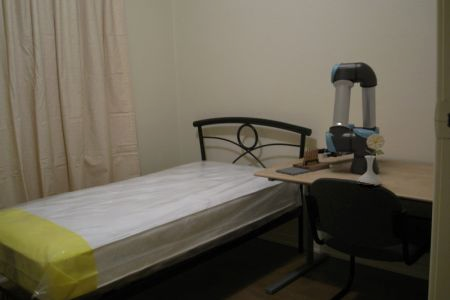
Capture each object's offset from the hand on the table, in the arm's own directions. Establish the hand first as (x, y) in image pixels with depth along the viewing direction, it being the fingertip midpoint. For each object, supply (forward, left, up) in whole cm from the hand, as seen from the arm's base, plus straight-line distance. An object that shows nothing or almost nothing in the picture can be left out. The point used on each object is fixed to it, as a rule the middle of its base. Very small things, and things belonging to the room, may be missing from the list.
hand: (313, 154), depth 248 cm
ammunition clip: (-1, +3, -8) cm, 8 cm away
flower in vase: (-49, +13, -8) cm, 51 cm away
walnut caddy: (-1, +3, -7) cm, 8 cm away
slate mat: (-1, +18, -7) cm, 19 cm away
